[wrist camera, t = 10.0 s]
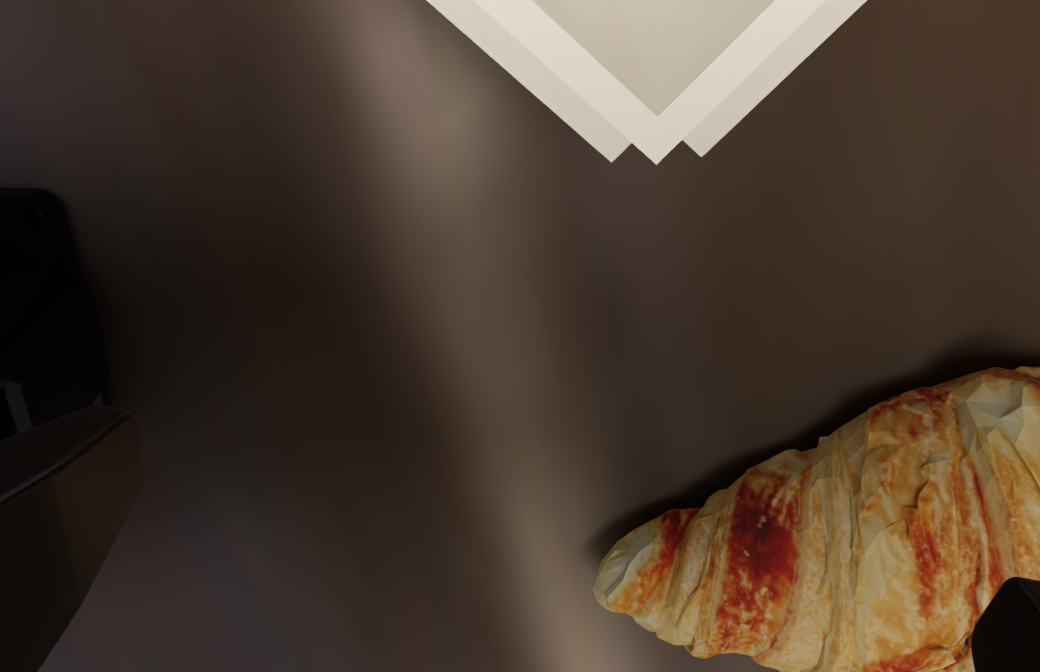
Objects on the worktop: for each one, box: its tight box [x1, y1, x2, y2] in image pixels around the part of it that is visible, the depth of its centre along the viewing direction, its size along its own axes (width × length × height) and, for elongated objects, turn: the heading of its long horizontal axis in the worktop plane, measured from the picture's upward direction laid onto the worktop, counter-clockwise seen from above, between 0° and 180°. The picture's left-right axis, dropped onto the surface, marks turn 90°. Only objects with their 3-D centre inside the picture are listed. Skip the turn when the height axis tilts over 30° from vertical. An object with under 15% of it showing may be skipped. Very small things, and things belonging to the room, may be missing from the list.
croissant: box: [592, 366, 1040, 672], centre depth 24 cm, size 21×10×8 cm, turn 103°
